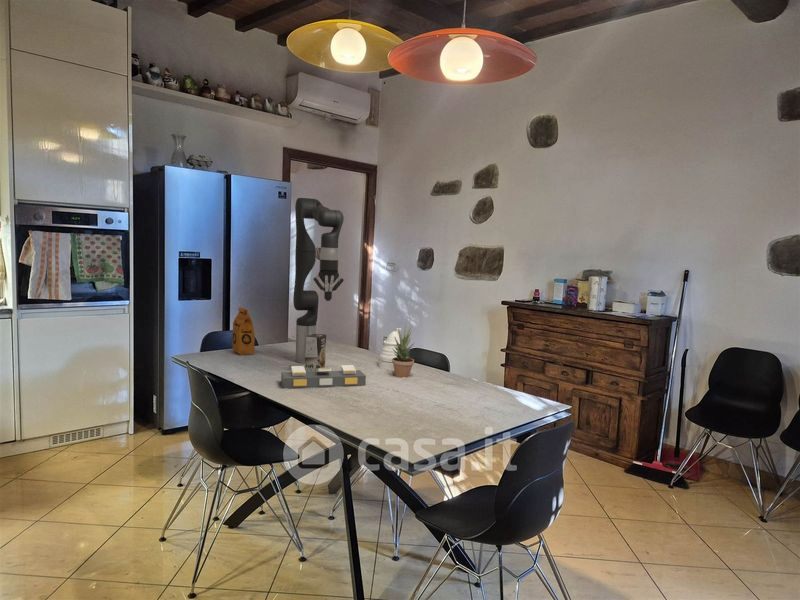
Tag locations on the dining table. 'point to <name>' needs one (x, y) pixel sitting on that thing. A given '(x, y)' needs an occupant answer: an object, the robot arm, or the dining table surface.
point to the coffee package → (243, 333)
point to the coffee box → (315, 352)
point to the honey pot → (389, 350)
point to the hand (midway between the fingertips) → (327, 300)
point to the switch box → (322, 379)
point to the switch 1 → (298, 370)
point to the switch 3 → (348, 369)
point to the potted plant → (403, 355)
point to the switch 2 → (323, 370)
